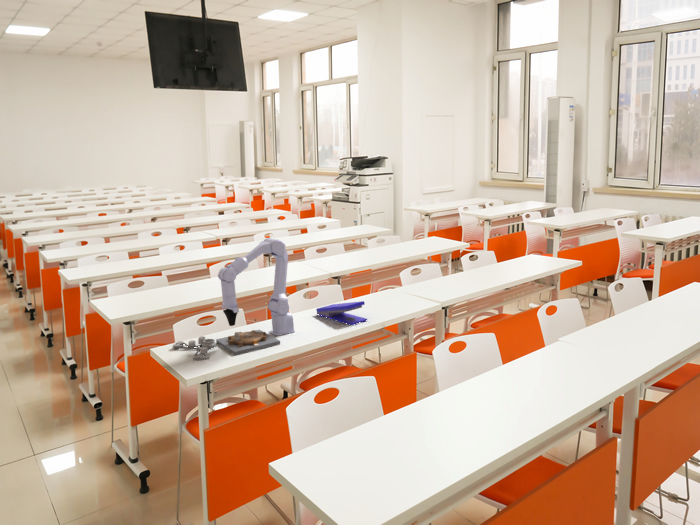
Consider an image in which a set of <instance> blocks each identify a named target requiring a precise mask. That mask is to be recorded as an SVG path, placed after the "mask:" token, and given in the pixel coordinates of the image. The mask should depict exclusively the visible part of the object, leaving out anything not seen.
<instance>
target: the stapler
mask: <svg viewBox="0 0 700 525" xmlns="http://www.w3.org/2000/svg"><path fill="white" fill-rule="evenodd" d="M363 306H365V300H363V301H353V302H352V301H351V302H344V303H335V304H334V303H333V304H329V305H327V306H326V305H324V306H322V307H317V308H316V315H317V314H319V315H322V316H324V317H327V318H326V319H328V318H330V319H329V320H331V319H334V320H333V321H335V320H337V321H336V322H338V321H340V322H339V323H341V322H344V323H343V324H345V323H347V324H346V325H348V324H350V325H349V326H351V325H352V326H355V325H357V324H356V323H358V324H360V323H359V322H362V323H364V322H363V321H365V322H367V321H368V318H366V317H365V318H364V317H362V316H357V315H354V314H350V313H346V312H351V311H355V310H358V309H361V308H363ZM324 317H323V318H324ZM366 320H367V321H366ZM354 324H355V325H354Z"/></svg>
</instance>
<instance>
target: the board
mask: <svg viewBox="0 0 700 525" xmlns="http://www.w3.org/2000/svg"><path fill="white" fill-rule="evenodd" d="M256 332H264V331H263V330H261V329H256ZM234 335H235V334H234ZM234 335H232V336H234ZM266 336H267V340H262V341H260V342H258V344H249V345H243V346H239V345H236V344H231V345H229V344H228V337H229V336H225V337H221V338H216V339H215V343H216V342H218V343H219V344H220V345H219V344H218V343H217V344H218V345H219V346H221V347H222V346H223V347H224V349H225V350H226V349H227V350H226V351H228V352H229V353H231V354H232V355H233V356H238V355H242V354H245V353H250V352H255V351H258V350H261V349H266V348H270V347H274V346H279V345H281V340H279V339H278V338H275V337H274V336H272V335H270V334H268V333H267V332H266ZM223 347H222V348H223ZM254 350H255V351H254Z"/></svg>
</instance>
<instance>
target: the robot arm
mask: <svg viewBox="0 0 700 525" xmlns="http://www.w3.org/2000/svg"><path fill="white" fill-rule="evenodd" d="M263 254H271V256H272V257H273V258H274V260H275V267H274V268H275V269H274V277H273V278H274V280H273V292H272V294H271V295H270V297H269V301H268V303H267V309H268V310H269V312H270V316H271V326H272V330H270V331H269V333H270V334H272V335H274V336H276V337H278V336H282V335H287V334H291V333H295V326H294V317H293V314H292V313H291V312H290V311H289V310H290V305H289V298H288V297H287V295H286V288H287V276H288V274H287V273H288V262H289V254H288V252H287V249H286V243H285V242H283V241H282V240H281V239H275V238H270V237H267V238H265V239H263V240H262V241H260V242H259V243H258V244H257V245H256V246H255V247H254V248H253V249H251V251H249V252H248V253H247V254H246V255H244V256H243V257H242V256H239V257H238V256H237V257H236V258H234V261H233V262H232V261H231V263H230V264H227V265H226V267H222V268H220V270H219V271H218V274H217V277H218V279H219V280H220V284H221V286H220V287H221V296H222V302H221V303H222V305H220V308H221V309H223V310H222V312H223V314H224V315H225V317H226V319H227V320H226V321H227V323H228V325H229V326H230V327H233V326H236V320H237V315H238V313H240V311H239V307H238V302H237V294H236V283H235V280H236V279H237V276H238V275H239V274H241V273H242V272H243V271H245V270H246V269H247V268H248V267H249V264H250V263H251V262H253V261H254V260H256V259H257V258H258V257H260V256H261V255H263Z"/></svg>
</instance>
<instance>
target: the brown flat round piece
mask: <svg viewBox="0 0 700 525" xmlns="http://www.w3.org/2000/svg"><path fill="white" fill-rule="evenodd" d="M256 330H257V329H256ZM256 330H255V329H254V330H251V331H244V332H242V331H236V332H234V336H233V335H229V336H227V337H228V344H229V345H231V344H236V345H239V346H243V345H249V344H258V342H260V341H262V340H267V336H266V333H267V332H265V331H263V332H256Z"/></svg>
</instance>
